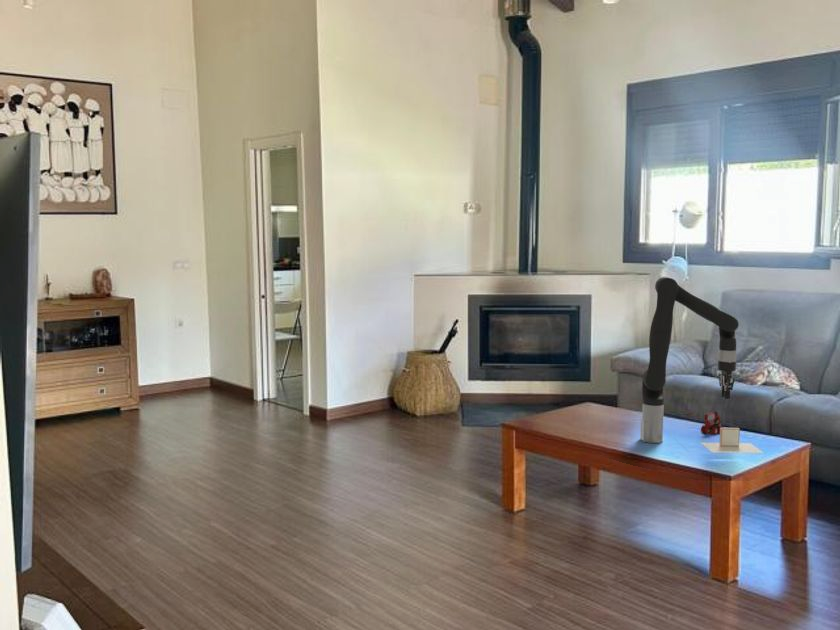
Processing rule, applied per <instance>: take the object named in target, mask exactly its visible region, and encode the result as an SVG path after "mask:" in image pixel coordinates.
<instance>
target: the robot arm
mask: <svg viewBox="0 0 840 630" xmlns="http://www.w3.org/2000/svg"><path fill="white" fill-rule="evenodd" d="M654 287H655V288H654V289H655V293H656V295H657V296H656V297H657V298H656V307H655V312H654V315H653V318H652V321H651V325H650V329H649V336H648V337H649V338H648V346H649V361H648V367H647V369H645V370H644V373H643V374H642V382H641V383H642V385H641V387H642V388H641V390H642V391H641V395H642V411H641V412H642V413H641V415H642V416H641V419H640V435H639V436H640V437H639V439H640V440H641V441H642V443H649V444H659V443H662V442H663V441H664V440H663V437H664V436H663V435H664V406H665V405H664V404H665V403H664V402H665V397H664V386H665V385H666V379H667V375H666V373H667V372H666V371H667V361H668V354H669V349H670V344H671V340H672V339H671V338H672V331H673V321H674V319H673V318H674V307H675V303H676V302H677V303H679V304H680V305H682V306H684V307H686V308H687V309H688V310H690V311H692V312H693V313H695V314H697V316H699V317H701V318H703V319H704V320H706V321H708V322H710V323H713V325H716V326H717V327H718V330H719V331H718V333H719V345H718V346H719V347H718V348H719V350H718V357H717V370H718V371H720V372H721V373H720V372H719V373H718V381H719V382H718V383H719V387H720V389H721V398H724V399H725V400H730V399H731V391H733V389H734V384H735V378H733V372H736V370H737V339H736V335H735V334H736V330H737V329H738V327H739V325H740V324H739V321H738V319H737V318H736V317H735V316H732V315H731V314H729V313H727V312H725V311H723V310H721V309H720V308H719V307H717V306H716V305H714V304H713V303H710V302H709V301H707V300H705V299H703V298H702V297H699V296H697V295H695V294H693V293H692V292H690V291H688V290H686V289H685V288H683V287H682V286H680V285H679V283H678V282H677V280H676V279H674V278H673V277H670V276H662V277H660V278H658V279H657V280H656V281H655V285H654Z"/></svg>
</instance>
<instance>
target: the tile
mask: <svg viewBox="0 0 840 630" xmlns="http://www.w3.org/2000/svg"><path fill="white" fill-rule="evenodd" d="M740 429H741V428H739V427H724V428H720V434H719V442H718V443H719V445H720V446H739V443H740V431H741V430H740Z"/></svg>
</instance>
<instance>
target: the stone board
mask: <svg viewBox="0 0 840 630" xmlns="http://www.w3.org/2000/svg"><path fill="white" fill-rule="evenodd" d="M719 443H720V442H700V444H701V445H702V446H704V447H705V448H706V449H707V450H709V451H710V452H711V453H714V454H716V453H719V454H720V453H721V454H724V453H726V454H730V453H731V454H764V452H763V451H762V450H761V449H759V448H758V447H756V446H755V445H753V443H751V442H739V446H720V445H719Z"/></svg>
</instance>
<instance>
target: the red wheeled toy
mask: <svg viewBox="0 0 840 630" xmlns="http://www.w3.org/2000/svg"><path fill="white" fill-rule="evenodd" d="M703 419H704V424H702V426H701V427H700V433H702V435H706V434H707V433H708V434H711V435H720V428H725V427H724V426H723V425H722V424H721V422H722V421H721V418H720V415H719V414H718V412H717V411H713V412H709V413H706V414H704V418H703Z"/></svg>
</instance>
